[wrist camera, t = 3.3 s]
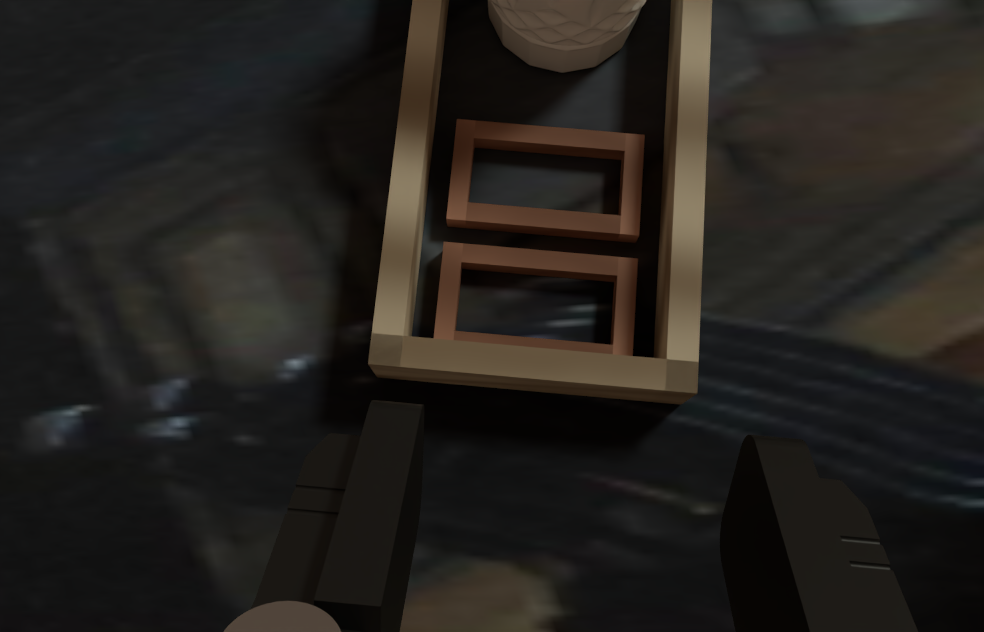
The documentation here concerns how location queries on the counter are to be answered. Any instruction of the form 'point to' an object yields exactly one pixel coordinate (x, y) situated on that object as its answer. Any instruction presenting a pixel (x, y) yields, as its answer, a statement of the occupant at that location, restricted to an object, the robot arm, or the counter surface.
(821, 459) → the counter surface
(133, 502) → the counter surface
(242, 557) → the counter surface
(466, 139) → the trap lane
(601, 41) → the white cup
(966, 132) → the counter surface
